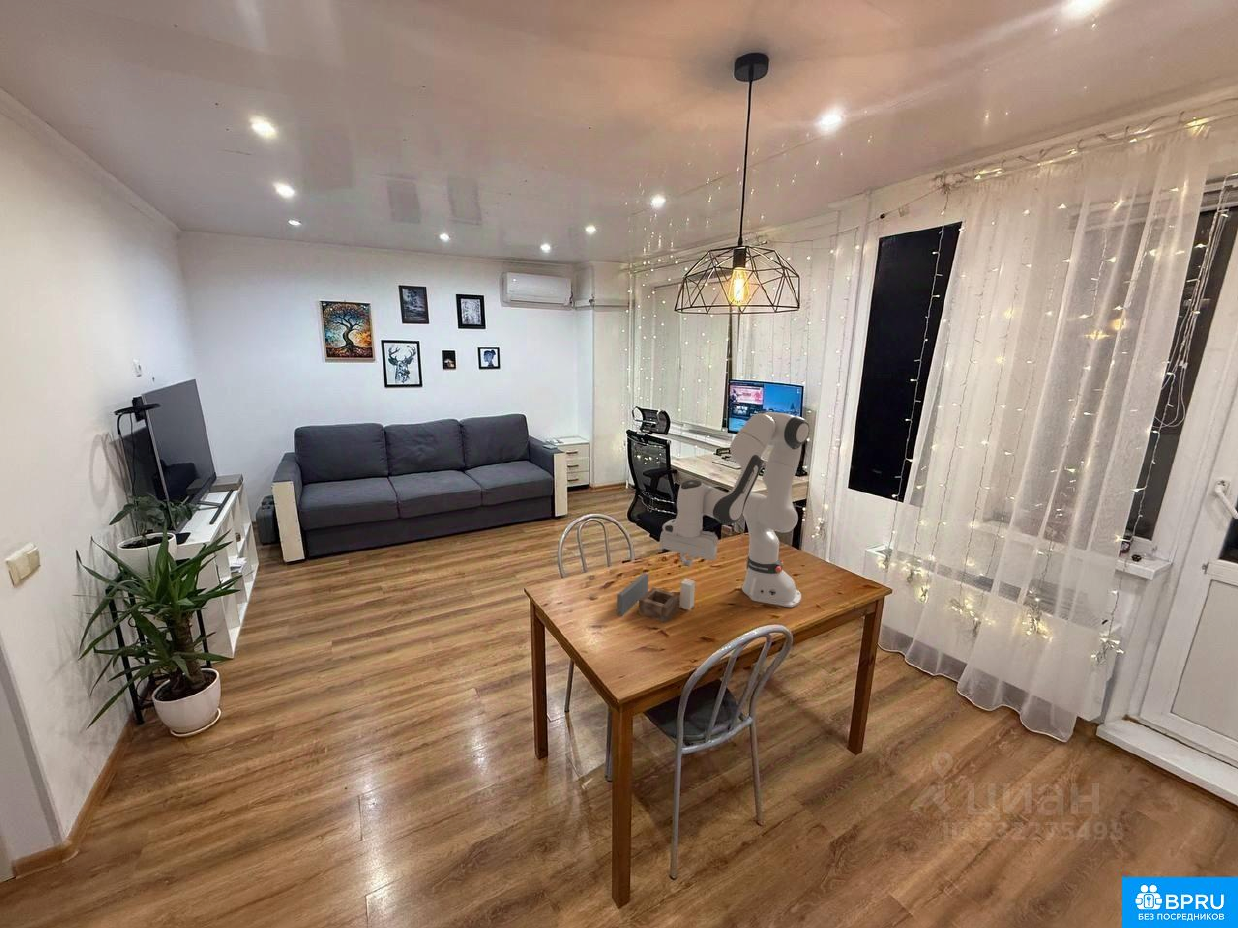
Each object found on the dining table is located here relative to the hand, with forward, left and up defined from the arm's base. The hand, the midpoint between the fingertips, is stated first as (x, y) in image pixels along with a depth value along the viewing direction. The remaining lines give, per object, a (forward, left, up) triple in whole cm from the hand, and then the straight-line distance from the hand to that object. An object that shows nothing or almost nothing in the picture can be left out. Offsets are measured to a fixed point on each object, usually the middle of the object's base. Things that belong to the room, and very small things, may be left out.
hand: (687, 565), depth 171 cm
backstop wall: (+21, 0, -21) cm, 30 cm away
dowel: (+3, -9, -21) cm, 23 cm away
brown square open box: (+10, 0, -21) cm, 23 cm away
